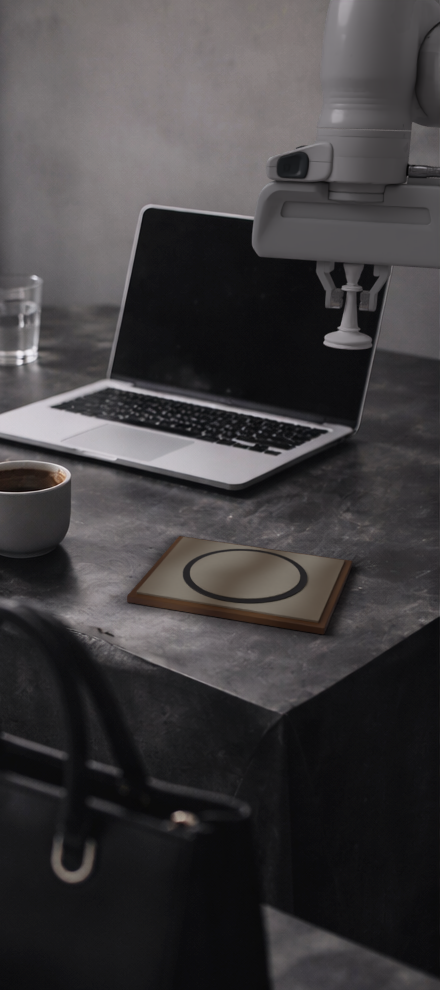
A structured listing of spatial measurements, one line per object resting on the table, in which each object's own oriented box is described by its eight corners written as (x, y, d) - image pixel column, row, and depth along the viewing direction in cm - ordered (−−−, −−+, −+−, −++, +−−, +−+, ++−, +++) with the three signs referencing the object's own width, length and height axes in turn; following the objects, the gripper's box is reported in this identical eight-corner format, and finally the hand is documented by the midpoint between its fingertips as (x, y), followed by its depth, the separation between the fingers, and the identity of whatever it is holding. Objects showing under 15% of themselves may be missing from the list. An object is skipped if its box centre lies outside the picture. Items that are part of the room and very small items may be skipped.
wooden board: (352, 566, 86) (353, 556, 85) (324, 635, 74) (324, 623, 74) (179, 541, 90) (179, 531, 89) (126, 602, 78) (126, 591, 78)
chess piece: (313, 342, 99) (319, 241, 96) (346, 337, 102) (354, 239, 99) (348, 351, 96) (356, 247, 92) (382, 346, 99) (391, 244, 95)
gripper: (475, 166, 93) (459, 312, 98) (267, 157, 98) (261, 296, 103) (471, 168, 87) (453, 322, 92) (250, 159, 93) (244, 305, 97)
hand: (350, 308), depth 98 cm, fingers closed on chess piece
